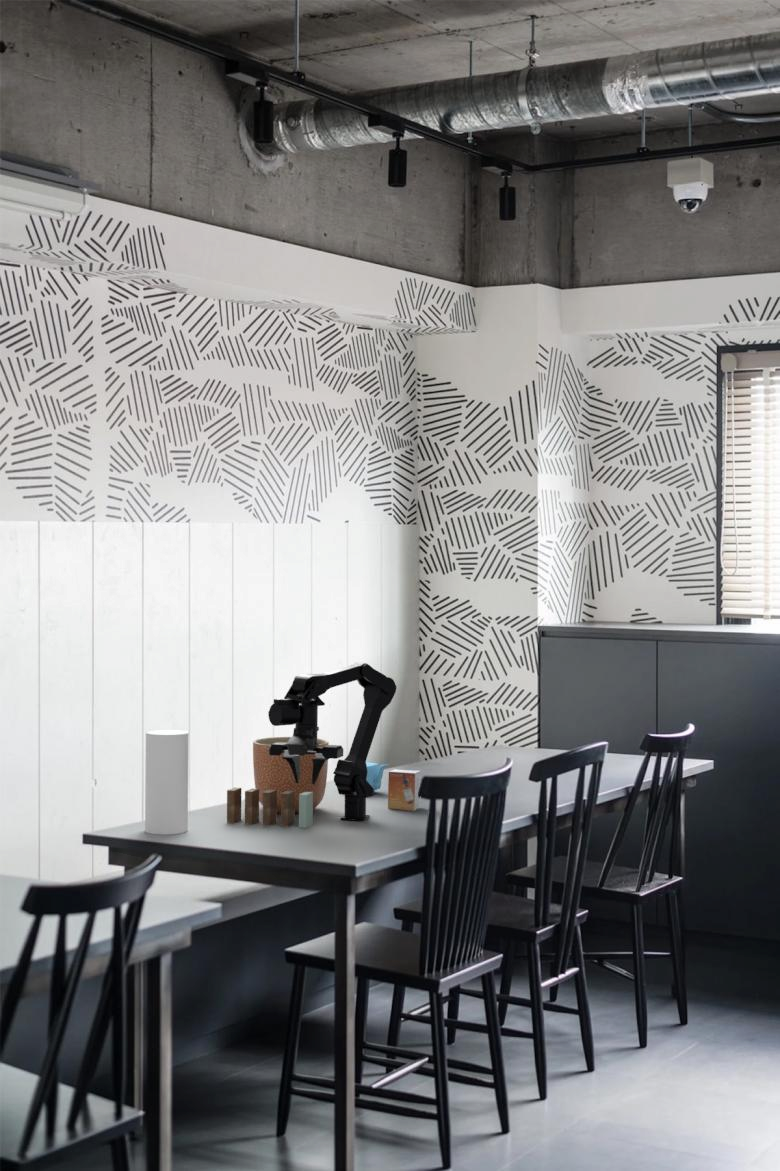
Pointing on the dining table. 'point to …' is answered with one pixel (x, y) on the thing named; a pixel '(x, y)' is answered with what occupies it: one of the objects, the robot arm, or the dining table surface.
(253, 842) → the dining table surface
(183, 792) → the tall pillar cylinder
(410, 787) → the small box
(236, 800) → the domino
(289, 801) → the domino
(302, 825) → the domino
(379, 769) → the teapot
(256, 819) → the domino
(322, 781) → the planter
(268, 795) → the domino
